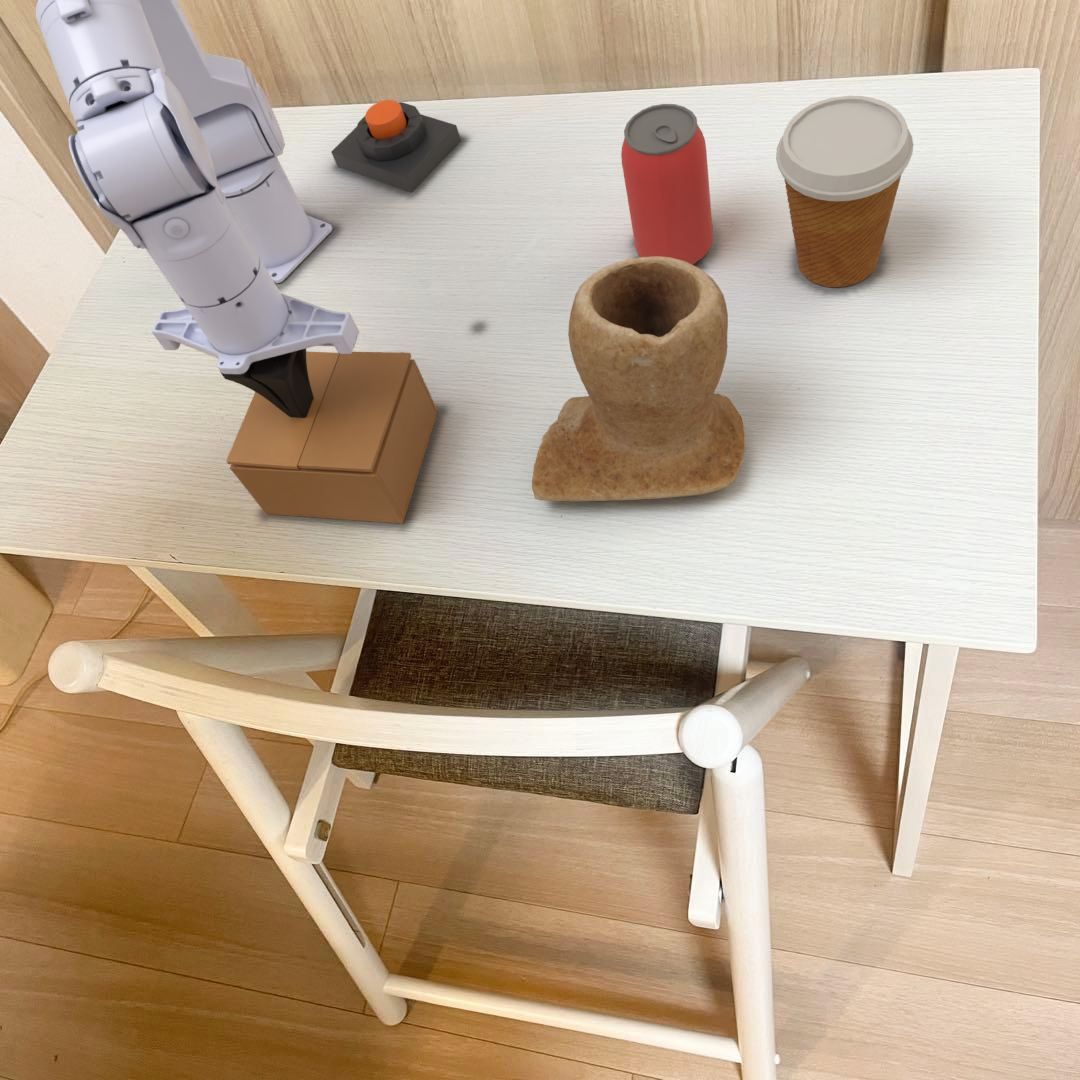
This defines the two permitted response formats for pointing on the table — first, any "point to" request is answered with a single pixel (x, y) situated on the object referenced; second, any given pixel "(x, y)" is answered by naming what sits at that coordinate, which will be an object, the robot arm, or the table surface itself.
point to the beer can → (667, 183)
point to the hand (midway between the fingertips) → (301, 407)
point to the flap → (281, 423)
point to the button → (385, 119)
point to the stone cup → (644, 390)
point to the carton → (356, 445)
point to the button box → (398, 150)
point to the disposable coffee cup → (842, 184)
